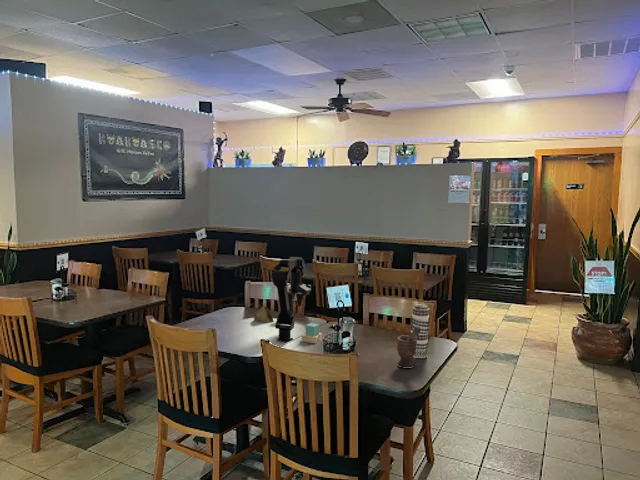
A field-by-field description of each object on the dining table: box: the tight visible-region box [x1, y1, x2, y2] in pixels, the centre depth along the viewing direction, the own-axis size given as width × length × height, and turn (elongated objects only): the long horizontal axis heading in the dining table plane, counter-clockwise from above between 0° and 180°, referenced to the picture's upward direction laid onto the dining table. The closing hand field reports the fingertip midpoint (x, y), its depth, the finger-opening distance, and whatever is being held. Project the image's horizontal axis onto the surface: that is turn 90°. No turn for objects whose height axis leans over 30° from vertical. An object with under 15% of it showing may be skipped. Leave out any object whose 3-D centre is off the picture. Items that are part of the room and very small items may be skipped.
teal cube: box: [305, 322, 320, 336], centre depth 248 cm, size 5×5×5 cm
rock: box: [253, 305, 274, 323], centre depth 282 cm, size 11×9×10 cm
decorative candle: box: [410, 303, 431, 357], centre depth 229 cm, size 9×9×25 cm
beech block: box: [301, 332, 323, 344], centre depth 249 cm, size 8×8×4 cm
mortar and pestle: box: [396, 327, 421, 367], centre depth 214 cm, size 12×9×20 cm
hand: (295, 308), depth 262 cm, fingers open, 9 cm apart
